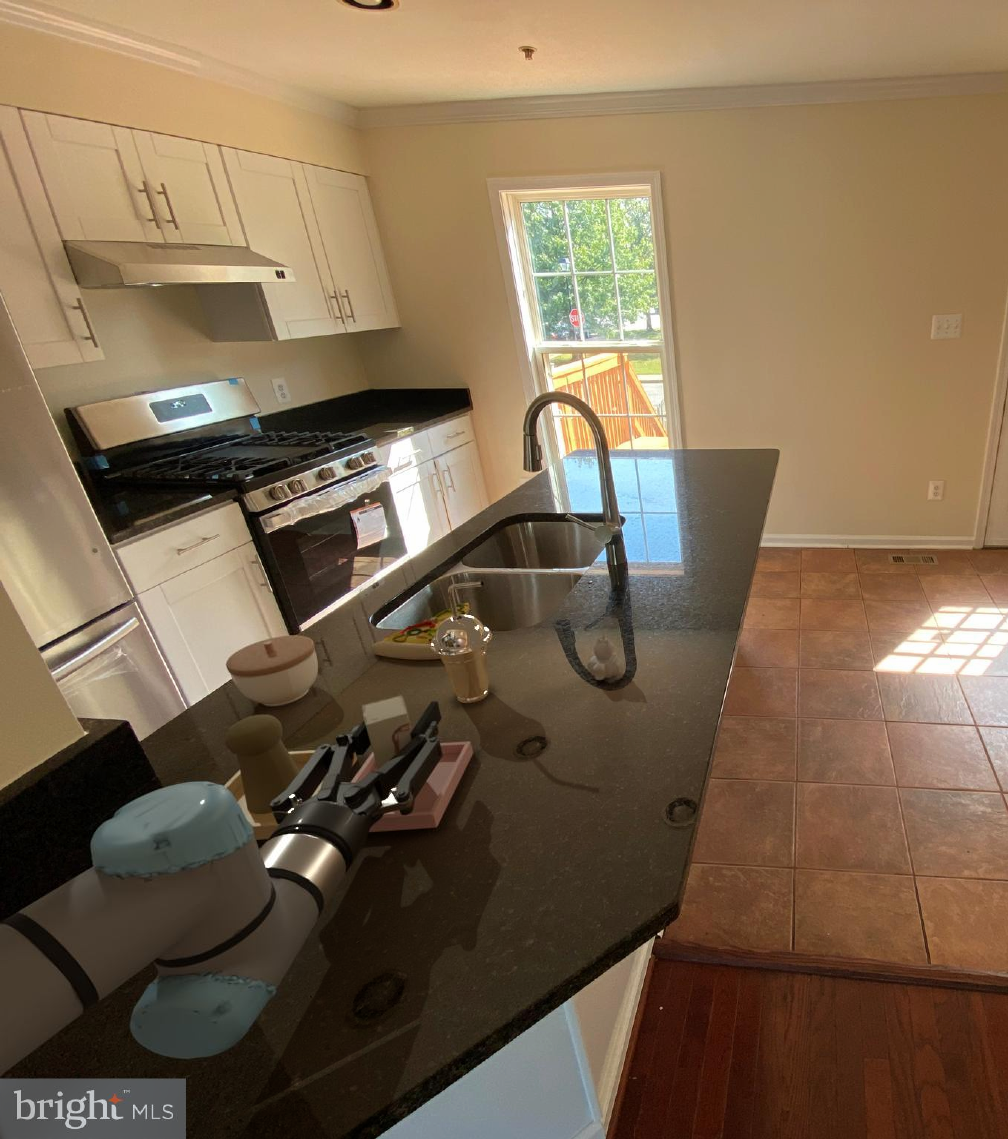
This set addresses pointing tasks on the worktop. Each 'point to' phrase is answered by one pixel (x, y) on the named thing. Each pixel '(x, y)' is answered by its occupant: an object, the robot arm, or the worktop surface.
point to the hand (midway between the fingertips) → (409, 711)
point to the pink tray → (426, 790)
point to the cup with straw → (464, 650)
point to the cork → (261, 760)
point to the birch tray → (266, 822)
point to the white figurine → (604, 660)
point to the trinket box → (275, 669)
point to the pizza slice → (415, 638)
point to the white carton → (387, 727)
